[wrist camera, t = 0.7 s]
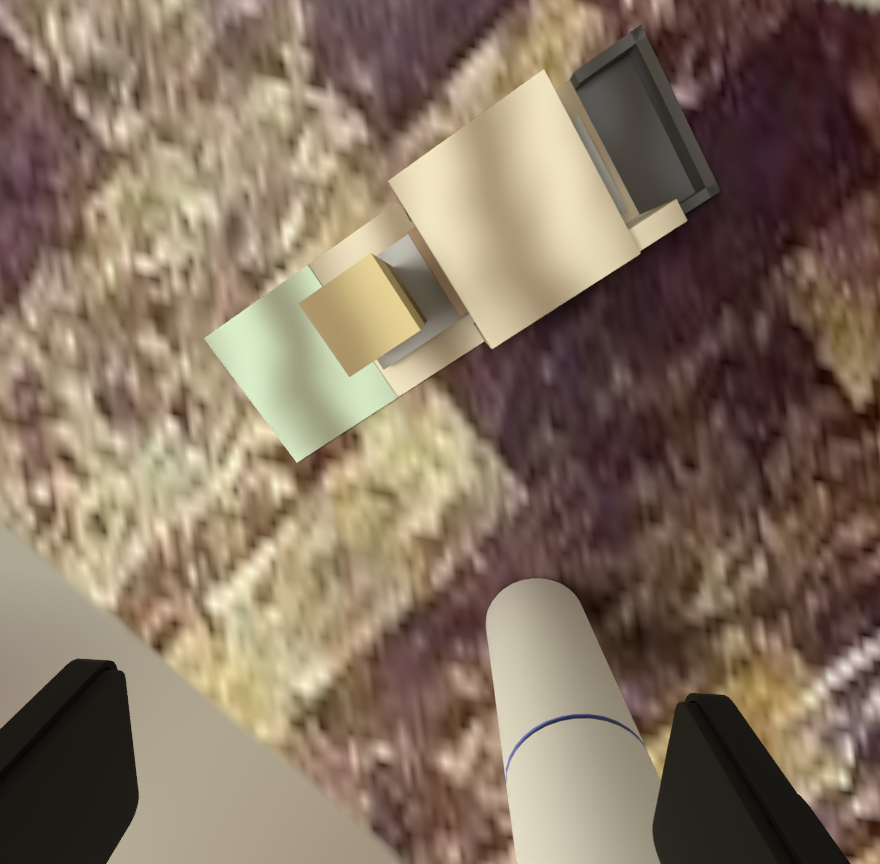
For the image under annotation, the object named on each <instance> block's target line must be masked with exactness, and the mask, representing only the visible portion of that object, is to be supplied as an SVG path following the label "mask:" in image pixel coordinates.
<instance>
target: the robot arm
mask: <svg viewBox="0 0 880 864" xmlns="http://www.w3.org/2000/svg"><path fill="white" fill-rule="evenodd" d="M138 799H139V792H138V784H137V776H136V767H135V757H134V749H133V740H132V731H131V722H130V713H129V705H128V695H127V687H126V679H125V674H124V673H123V672H122V671H118V670H117V666H116V664H115V663H114V662H113V661H108V660H92V659H75V660H73V661H71V662H70V663H69V664H67V665H66V666H65V667H64V668H63V669H62V670H61V671H60V672H59V673H58V674H57V675H56V676H55V677H54V678H53V679H52V680H51V681H50V682H49V683H48V684H46V685H45V686H44V688H43V689H42V690H40V691H39V692H38V693H37V694H36V695H35V696H34V697H33V698H32V699H31V700H30V701H29V702H28V703H27V704H26V705H25V706H24V707H23V708H22V709H21V710H20V711H19V712H18V713H17V714H15V715H14V717H12V718H11V719H10V720H9V721H8V722H7V723H6V724H5V725H4V726H3V727H2V728H1V729H0V864H106V863H107V862H108V860H109V858H110V856H111V855H112V853H113V851H114V850H115V848H116V847H117V845H118V843H119V841H120V840H121V838H122V837H123V835H124V833H125V832H126V830H127V828H128V827H129V825H130V823H131V821H132V819H133V817H134V815H135V812H136V809H137V805H138ZM652 834H653V841H654V846H655V850H656V853H657V855H658V858H659V861H660V863H661V864H850V863H849V861H848V860H847V858H846V857H845V856H844V854H843V853H842V851H841V850H840V849H839V847H838V846H837V844H836V843H835V842H834V840H833V839H832V837H831V836H830V835H829V833H828V832H827V830H826V829H825V827H824V826H823V825H822V823H821V822H820V820H819V819H818V818H817V816H816V815H815V813H814V812H813V811H812V809H811V808H810V806H809V805H808V804H807V803H806V802H805V801H804V799H803V798H802V797H801V796H800V795H798V794H797V792H796V791H795V790H794V788H793V787H792V785H791V784H790V782H789V781H788V780H787V778H786V777H785V775H784V774H783V773H782V771H781V770H780V768H779V767H778V765H777V764H776V763H775V761H774V760H773V758H772V757H771V755H770V754H769V753H768V751H767V750H766V748H765V747H764V745H763V744H762V743H761V741H760V740H759V738H758V737H757V736H756V734H755V733H754V731H753V730H752V728H751V727H750V726H749V724H748V723H747V721H746V720H745V718H744V717H743V716H742V714H741V713H740V711H739V710H738V709H737V707H736V706H735V704H734V703H733V702H732V700H731V699H730V698H729V697H727V696H725V695H716V694H698V693H691V694H689V695H688V696H687V697H686V700H685V702H679V703H678V704H677V706H676V709H675V714H674V719H673V724H672V729H671V734H670V739H669V744H668V749H667V754H666V759H665V764H664V769H663V774H662V779H661V784H660V789H659V794H658V799H657V804H656V809H655V814H654V819H653V825H652Z"/></svg>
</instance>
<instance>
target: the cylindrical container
mask: <svg viewBox="0 0 880 864" xmlns="http://www.w3.org/2000/svg"><path fill="white" fill-rule="evenodd" d="M486 631H487V639H488V646H489V654H490V661H491V668H492V676H493V683H494V691H495V699H496V707H497V715H498V723H499V731H500V739H501V747H502V754H503V762H504V770H505V778H506V786H507V794H508V801H509V809H510V816H511V824H512V831H513V839H514V846H515V854H516V861H517V864H661V863H660V861H659V858H658V855H657V853H656V850H655V846H654V841H653V834H652V825H653V819H654V814H655V809H656V804H657V799H658V794H659V789H660V784H661V781H660V778H659V776H658V774H657V772H656V770H655V767H654V765H653V763H652V761H651V758H650V756H649V754H648V752H647V749H646V747H645V745H644V743H643V741H642V738H641V736H640V734H639V732H638V730H637V728H636V726H635V723H634V721H633V719H632V716H631V714H630V712H629V710H628V708H627V705H626V703H625V701H624V699H623V696H622V694H621V692H620V690H619V688H618V685H617V683H616V681H615V679H614V676H613V674H612V672H611V670H610V668H609V665H608V663H607V661H606V659H605V656H604V654H603V652H602V650H601V648H600V645H599V643H598V641H597V639H596V637H595V634H594V632H593V630H592V628H591V625H590V623H589V621H588V619H587V617H586V614H585V612H584V610H583V608H582V605H581V603H580V601H579V600H578V598H577V597H576V595H575V594H574V593H573V592H572V591H571V590H570V589H569V588H567V587H565V586H564V585H562V584H561V583H558V582H555V581H553V580H549V579H543V578H531V579H526V580H521V581H518V582H516V583H513V584H511V585H509V586H508V587H506V588H505V589H503V590H502V591H501V592H500V593H499V594H498V595H497V596H496V597H495V599H494V600H493V601H492V603H491V605H490V607H489V609H488V612H487V616H486Z"/></svg>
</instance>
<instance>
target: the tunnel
mask: <svg viewBox="0 0 880 864" xmlns="http://www.w3.org/2000/svg"><path fill="white" fill-rule="evenodd" d="M577 116H579V118H580V119H581V121H582V123H583V125H584V127H585V129H586V131H587V133H588V135H589V137H590V139H591V140H592V142H593V144H594V146H595V148H596V150H597V152H598V154H599V156H600V158H601V160H602V162H603V163H604V165H605V167H606V169H607V171H608V173H609V175H610V177H611V179H612V181H613V183H614V185H615V186H616V188H617V190H618V192H619V194H620V196H621V198H622V200H623V202H624V204H625V206H626V208H627V209H628V210H626V211H625V212H623V213H622V214H620V213H619V211H618V209H617V207H616V205H615V203H614V202H613V200H612V198H611V196H610V194H609V192H608V190H607V188H606V186H605V184H604V183H603V181H602V179H601V177H600V175H599V173H598V171H597V169H596V167H595V165H594V164H593V162H592V160H591V158H590V156H589V154H588V152H587V150H586V148H585V146H584V145H583V143H582V141H581V139H580V137H579V135H578V133H577V131H576V129H575V127H574V126H573V124H572V122H571V120H573V119H574V118H576V117H577ZM388 182H389V184H390V186H391V188H392V190H393V192H394V195H395V197H396V199H397V201H398V202H397V203H395V204H394V205H392V206H391V207H389V208H388V209H387V210H385V211H384V212H382V213H381V214H380V215H378V216H377V217H375V218H374V219H373V220H371V221H370V222H368V223H367V224H365V225H364V226H363V227H361V228H360V229H358V230H357V231H356V232H354V233H353V234H351V235H350V236H349V237H347V238H346V239H344V240H343V241H341V242H340V243H339V244H337V245H336V246H334V247H333V248H332V249H330V250H329V251H327V252H326V253H325V254H323V255H322V256H320V257H319V258H318V259H316V260H315V261H313V262H312V263H310V264H309V265H307V266H306V267H304V268H303V269H301V270H300V271H299V272H297V273H296V274H294V275H293V276H292V277H290V278H289V279H287V280H286V281H284V282H283V283H282V284H280V285H279V286H277V287H276V288H275V289H273V290H272V291H270V292H269V293H268V294H266V295H265V296H263V297H262V298H261V299H259V300H258V301H256V302H255V303H253V304H252V305H251V306H249V307H248V308H246V309H245V310H244V311H242V312H241V313H239V314H238V315H237V316H235V317H234V318H232V319H231V320H229V321H228V322H227V323H225V324H224V325H222V326H221V327H220V328H218V329H217V330H215V331H214V332H213V333H211V334H210V335H208V336H207V337H205V338H204V339H205V340H206V342H207V343H208V344H209V346H210V347H211V348H212V350H213V351H214V352H215V354H216V355H217V357H218V358H219V359H220V361H221V362H222V363H223V365H224V366H225V367H226V369H227V370H228V371H229V373H230V374H231V375H232V377H233V378H234V379H235V381H236V382H237V383H238V385H239V386H240V387H241V389H242V390H243V391H244V393H245V394H246V395H247V397H248V398H249V399H250V401H251V402H252V403H253V405H254V406H255V407H256V409H257V410H258V411H259V413H260V414H261V415H262V417H263V418H264V419H265V421H266V422H267V423H268V425H269V426H270V427H271V429H272V430H273V431H274V433H275V434H276V435H277V437H278V438H279V439H280V441H281V442H282V443H283V445H284V446H285V447H286V449H287V450H288V452H289V453H290V454H291V456H292V457H293V458H294V460H295V461H296V462H298V461H300V460H302V459H303V458H305V457H306V456H308V455H309V454H311V453H312V452H314V451H316V450H317V449H319V448H320V447H322V446H323V445H325V444H326V443H328V442H329V441H331V440H333V439H334V438H336V437H337V436H339V435H340V434H342V433H343V432H345V431H346V430H348V429H350V428H351V427H353V426H354V425H356V424H357V423H359V422H360V421H362V420H364V419H365V418H367V417H368V416H370V415H371V414H373V413H374V412H376V411H377V410H379V409H381V408H382V407H384V406H385V405H387V404H388V403H390V402H391V401H393V400H395V399H396V398H397V397H399V396H400V395H402V394H403V393H405V392H407V391H408V390H410V389H411V388H413V387H414V386H416V385H417V384H419V383H421V382H422V381H424V380H425V379H427V378H428V377H430V376H431V375H433V374H434V373H436V372H438V371H439V370H441V369H442V368H444V367H445V366H447V365H448V364H450V363H451V362H453V361H455V360H456V359H458V358H459V357H461V356H462V355H464V354H465V353H467V352H469V351H470V350H472V349H473V348H475V347H476V346H478V345H479V344H481V343H482V342H484V341H485V342H486V343H487V344H488V345H489V346H490V347H491V349H493V348H495V347H496V346H498V345H499V344H501V343H502V342H504V341H505V340H507V339H509V338H510V337H512V336H513V335H515V334H516V333H518V332H520V331H521V330H523V329H524V328H526V327H527V326H529V325H530V324H532V323H534V322H535V321H537V320H538V319H540V318H541V317H543V316H544V315H546V314H548V313H549V312H551V311H552V310H554V309H555V308H557V307H558V306H560V305H562V304H563V303H565V302H566V301H568V300H569V299H571V298H572V297H574V296H576V295H577V294H579V293H580V292H582V291H583V290H585V289H587V288H588V287H590V286H591V285H593V284H594V283H596V282H597V281H599V280H601V279H602V278H604V277H605V276H607V275H608V274H610V273H611V272H613V271H615V270H616V269H618V268H619V267H621V266H622V265H624V264H625V263H627V262H629V261H630V260H632V259H633V258H635V257H636V256H638V255H639V254H641V253H640V251H641V250H643V249H644V248H646V247H647V246H649V245H650V244H652V243H653V242H655V241H657V240H658V239H660V238H661V237H663V236H664V235H666V234H667V233H669V232H671V231H672V230H674V229H675V228H677V227H678V226H680V225H681V224H683V223H685V222H686V221H687V219H686V217H685V215H684V214H686V213H687V212H689V211H690V210H692V209H694V208H695V207H697V206H698V205H700V204H701V203H703V202H704V201H706V200H707V199H709V198H711V197H712V196H714V195H715V194H717V193H718V192H720V189H719V187H718V185H717V183H716V181H715V179H714V176H713V174H712V172H711V170H710V168H709V166H708V164H707V162H706V160H705V158H704V156H703V153H702V151H701V149H700V147H699V145H698V143H697V141H696V139H695V137H694V135H693V133H692V130H691V128H690V126H689V124H688V122H687V120H686V118H685V116H684V114H683V112H682V110H681V107H680V105H679V103H678V101H677V99H676V97H675V95H674V93H673V91H672V89H671V86H670V84H669V82H668V80H667V78H666V76H665V74H664V72H663V70H662V68H661V66H660V63H659V61H658V59H657V57H656V55H655V53H654V51H653V49H652V47H651V45H650V43H649V40H648V38H647V36H646V34H645V32H644V30H643V28H642V26H641V25H640V26H638V27H637V28H636V29H634V30H633V31H631V32H630V33H629V34H627V35H626V36H624V37H623V38H622V39H620V40H619V41H617V42H616V43H615V44H613V45H612V46H610V47H609V48H607V49H606V50H605V51H603V52H602V53H600V54H599V55H598V56H596V57H595V58H593V59H592V60H591V61H589V62H588V63H586V64H585V65H584V66H582V67H581V68H579V69H578V70H576V71H575V72H574V73H573V75H572V77H571V78H570V80H569V81H567V82H566V83H564V84H563V85H562V86H560V87H559V88H557V89H556V90H555V89H554V88H553V86H552V84H551V82H550V80H549V78H548V76H547V74H546V72H545V70H544V69H543V70H542V71H541V72H539V73H538V74H537V75H535V76H534V77H532V78H531V79H530V80H528V81H527V82H525V83H524V84H523V85H521V86H520V87H518V88H517V89H516V90H514V91H513V92H511V93H510V94H509V95H507V96H506V97H504V98H503V99H502V100H500V101H499V102H497V103H496V104H495V105H493V106H492V107H491V108H489V109H488V110H486V111H485V112H484V113H482V114H481V115H479V116H478V117H477V118H475V119H474V120H472V121H471V122H470V123H468V124H467V125H465V126H464V127H463V128H461V129H460V130H458V131H457V132H456V133H454V134H453V135H451V136H450V137H449V138H447V139H446V140H445V141H443V142H442V143H440V144H439V145H438V146H436V147H435V148H433V149H432V150H431V151H429V152H428V153H426V154H425V155H424V156H422V157H421V158H419V159H418V160H417V161H415V162H414V163H412V164H411V165H410V166H408V167H407V168H406V169H404V170H403V171H401V172H400V173H399V174H397V175H396V176H394V177H393V178H392V179H390V180H389V181H388ZM415 226H416V228H417V230H418V231H419V233H420V234H421V236H422V238H423V239H424V241H425V242H426V244H427V246H428V247H429V249H430V251H431V252H432V254H433V255H434V257H435V259H436V260H437V262H438V263H439V265H440V267H441V268H442V270H443V272H444V273H445V275H446V276H447V278H448V280H449V281H450V283H451V284H452V286H453V288H454V289H455V291H456V293H457V294H458V296H459V297H460V299H461V301H462V302H463V304H464V306H465V307H466V309H467V310H468V312H469V314H468V315H467V316H465V317H463V318H462V319H460V320H459V321H457V322H456V323H454V324H453V325H451V326H450V327H448V328H447V329H445V330H444V331H442V332H441V333H439V334H438V335H436V336H435V337H433V338H432V339H430V340H429V341H427V342H425V343H424V344H422V345H421V346H419V347H418V348H416V349H415V350H413V351H412V352H410V353H409V354H407V355H406V356H404V357H403V358H401V359H400V360H398V361H397V362H395V363H394V364H392V365H390V366H389V367H387V368H386V369H384V370H383V368H382V367H381V365H380V364H379V362H378V361H377V359H376V360H375V361H373V362H372V363H370V364H369V365H367V366H366V367H364V368H363V369H361V370H360V371H358V372H357V373H355V374H354V375H352V376H351V377H349V376H348V375H347V373H346V372H345V370H344V369H343V367H342V366H341V365H340V363H339V362H338V360H337V359H336V357H335V356H334V354H333V353H332V352H331V350H330V349H329V347H328V346H327V344H326V343H325V341H324V340H323V339H322V337H321V336H320V334H319V333H318V331H317V330H316V328H315V327H314V326H313V324H312V323H311V321H310V320H309V318H308V317H307V316H306V314H305V313H304V311H303V310H302V308H301V307H300V305H299V304H298V303H300V302H301V301H303V300H304V299H305V298H307V297H308V296H310V295H311V294H313V293H314V292H316V291H317V290H318V289H320V288H321V287H323V286H324V285H326V284H327V283H328V282H330V281H331V280H333V279H334V278H336V277H337V276H338V275H340V274H341V273H343V272H344V271H346V270H347V269H348V268H350V267H351V266H353V265H354V264H356V263H357V262H358V261H360V260H361V259H363V258H364V257H366V256H367V255H369V254H370V253H372V254H373V255H375V256H377V255H379V254H380V253H382V252H383V251H384V250H386V249H387V248H389V247H390V246H392V245H393V244H394V243H396V242H397V241H399V240H400V239H402V238H403V237H405V236H406V235H407V234H408V233H407V232H408V231H409V230H411V229H412V228H413V227H415Z"/></svg>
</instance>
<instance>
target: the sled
mask: <svg viewBox="0 0 880 864" xmlns="http://www.w3.org/2000/svg"><path fill="white" fill-rule="evenodd" d="M571 122H572V124H573V126H574V127H575V129H576V131H577V133H578V135H579V137H580V139H581V141H582V143H583V145H584V146H585V148H586V150H587V152H588V154H589V156H590V158H591V160H592V162H593V164H594V165H595V167H596V169H597V171H598V173H599V175H600V177H601V179H602V181H603V183H604V184H605V186H606V188H607V190H608V192H609V194H610V196H611V198H612V200H613V202H614V203H615V205H616V207H617V209H618V211H619V213H620V214H622V213H623V212H625V211H626V210H628V209H627V208H626V206H625V204H624V202H623V200H622V198H621V196H620V194H619V192H618V190H617V188H616V186H615V185H614V183H613V181H612V179H611V177H610V175H609V173H608V171H607V169H606V167H605V165H604V163H603V162H602V160H601V158H600V156H599V154H598V152H597V150H596V148H595V146H594V144H593V142H592V140H591V139H590V137H589V135H588V133H587V131H586V129H585V127H584V125H583V123H582V121H581V119H580V118H579V116H577V117H576V118H574V119H573V120H571ZM407 233H408V234H407V235H406V236H405V237H403V238H402V239H400V240H399V241H397V242H396V243H394V244H393V245H392V246H390V247H389V248H387V249H386V250H384V251H383V252H382V253H380V254H379V255H377V256H375V255H373V254H372V253H370V254H369V255H367V256H366V257H364V258H363V259H361V260H360V261H358V262H357V263H356V264H354V265H353V266H351V267H350V268H348V269H347V270H346V271H344V272H343V273H341V274H340V275H338V276H337V277H336V278H334V279H333V280H331V281H330V282H328V283H327V284H326V285H324V286H323V287H321V288H320V289H318V290H317V291H316V292H314V293H313V294H311V295H310V296H308V297H307V298H305V299H304V300H303V301H301V302H300V303H298V304H299V305H300V307H301V308H302V310H303V311H304V313H305V314H306V316H307V317H308V318H309V320H310V321H311V323H312V324H313V326H314V327H315V328H316V330H317V331H318V333H319V334H320V336H321V337H322V339H323V340H324V341H325V343H326V344H327V346H328V347H329V349H330V350H331V352H332V353H333V354H334V356H335V357H336V359H337V360H338V362H339V363H340V365H341V366H342V367H343V369H344V370H345V372H346V373H347V375H348V376H349V377H351V376H352V375H354V374H355V373H357V372H358V371H360V370H361V369H363V368H364V367H366V366H367V365H369V364H370V363H372V362H373V361H375V360H376V359H377V361H378V362H379V364H380V365H381V367H382V368H383V370H384V369H386V368H387V367H389V366H390V365H392V364H394V363H395V362H397V361H398V360H400V359H401V358H403V357H404V356H406V355H407V354H409V353H410V352H412V351H413V350H415V349H416V348H418V347H419V346H421V345H422V344H424V343H425V342H427V341H429V340H430V339H432V338H433V337H435V336H436V335H438V334H439V333H441V332H442V331H444V330H445V329H447V328H448V327H450V326H451V325H453V324H454V323H456V322H457V321H459V320H460V319H462V318H463V317H465V316H467V315H468V314H469V312H468V310H467V309H466V307H465V306H464V304H463V302H462V301H461V299H460V297H459V296H458V294H457V293H456V291H455V289H454V288H453V286H452V284H451V283H450V281H449V280H448V278H447V276H446V275H445V273H444V272H443V270H442V268H441V267H440V265H439V263H438V262H437V260H436V259H435V257H434V255H433V254H432V252H431V251H430V249H429V247H428V246H427V244H426V242H425V241H424V239H423V238H422V236H421V234H420V233H419V231H418V230H417V228H416V226H415V227H413V228H412V229H411V230H409V231H408V232H407Z"/></svg>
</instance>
